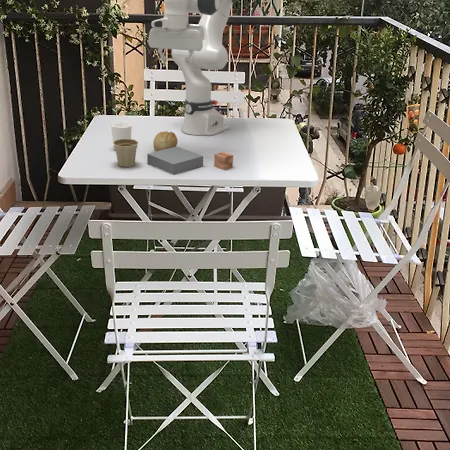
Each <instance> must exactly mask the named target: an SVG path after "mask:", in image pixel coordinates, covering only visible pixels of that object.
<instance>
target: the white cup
mask: <svg viewBox="0 0 450 450" xmlns="http://www.w3.org/2000/svg"><path fill="white" fill-rule="evenodd" d="M111 136H112V143H113V142H114V141H115V140H118V139H132V124H131V123H129V122H125V121H123V122H122V121H121V122H120V121H118V122H113V123H112V124H111ZM113 149H114V151H116V149H115V147H114V146H113Z"/></svg>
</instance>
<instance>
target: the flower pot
mask: <svg viewBox="0 0 450 450" xmlns="http://www.w3.org/2000/svg"><path fill="white" fill-rule="evenodd" d="M112 145H113V148H114V147H115V149H116V150H115V152H116V153H115V154H116V159H117V165H118V166H120V167H126V168H127V167H128V168H129V167H133V166H134V165H135V163H136V155H137V148H138V145H139V141H138V140H136V139H133V138H131V139H118V140H115V141H114V142H113V141H112Z"/></svg>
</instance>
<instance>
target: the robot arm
mask: <svg viewBox="0 0 450 450" xmlns="http://www.w3.org/2000/svg"><path fill="white" fill-rule="evenodd" d="M163 1H164V7H165V8H164V11H163V17H160V18H158V19H155V20H153V21H151V22H150V23H151V27H152V28H151V29H150V31H149V33H148V44H147V45H148V46H149V48H151V49H152V48H153V49H157V52H158V53H159V56H160V61H161V62H165V61H166V59H167V55H164V53H163V50H164V49H165V50H171V57H172V58H171V59H172V60H173V62H174V63H175V64H176V65H177V66H178V67H179V69H180V71H181V72H182V75H183V79H184V83H185V99H184V110H185V111H184V118H183V122H182V123H183V124H182V127H181V131H182V132H183V133H184V134H188V135H193V136H208V137H209V136H214V135H217V134H220V133H222V132H224V131H227V130H230V129H229V128H230V127H229V125H227V124H225V120H224V119H225V118H224V115H222V114H221V113H220V112H219V111H218V110H217V109H215V108H214V106H217V105H218V102H219V101H218V100H215V99H211V98H212V97H211V96H212V83H211V81H210V79H209V78H207V77H206V75H204V74H203V72H202V70H208V71H216V70H217V71H218V70H222V69H224V67H225V66H226V65H227V63H228V59H229V56H228V51H227V48H225V46H224V45H223V43H222V37H223V33H224V30H225V28H226V26H227V22H228V20H229V18H230V13H231V9H232V3H236V2H238V0H163ZM191 13H192V14H202V15H201V17H200V18H199V19H200V20H199V22H198V24H193V23H189V14H191Z"/></svg>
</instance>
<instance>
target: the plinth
mask: <svg viewBox="0 0 450 450" xmlns="http://www.w3.org/2000/svg"><path fill="white" fill-rule="evenodd" d="M146 158H147V159H146V160H147V165H149V166H151V165H152V167H154V168H156V167H157V169H160V170H161V169H162V171H163V170H164V171H163V172H166V173H168V172H169V174H170V175H176V174H180V173H183V172H188V171H190V170H191V171H192V170H195V169H197V168H201V167H204V155H201V154H199V153H196V152H194V151H191V150H189V149H186V148H182V147H180V146H178V145H177V146H176V147H172V148H168V149H164V150H160V151H154V152H148V153H147V157H146Z"/></svg>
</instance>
